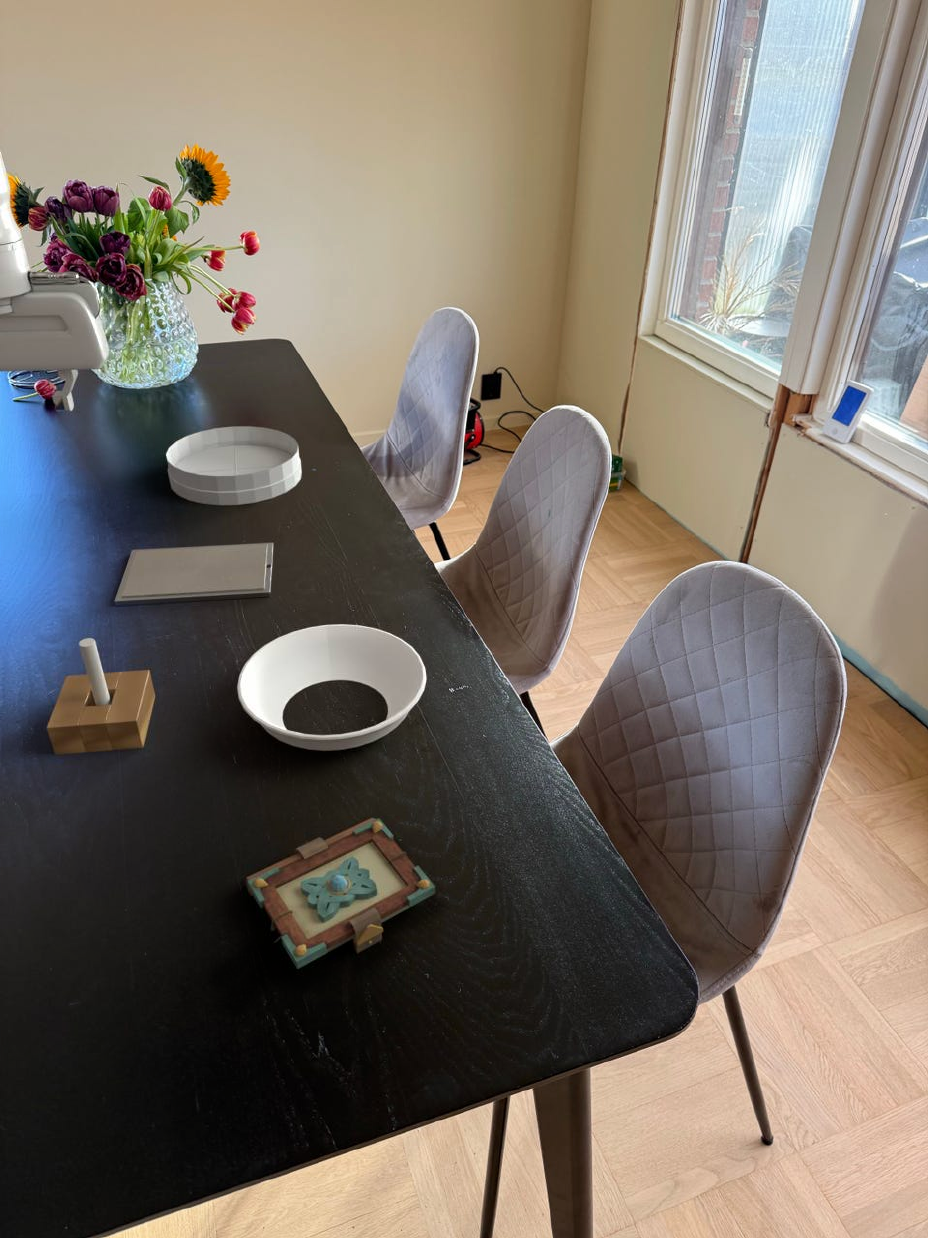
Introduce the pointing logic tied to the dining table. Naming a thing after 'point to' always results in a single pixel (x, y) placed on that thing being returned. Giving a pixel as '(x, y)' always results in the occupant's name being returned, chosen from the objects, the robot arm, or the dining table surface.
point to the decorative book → (338, 891)
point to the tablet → (197, 574)
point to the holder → (102, 714)
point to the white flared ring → (331, 678)
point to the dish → (234, 465)
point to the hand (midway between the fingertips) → (18, 411)
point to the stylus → (94, 671)
